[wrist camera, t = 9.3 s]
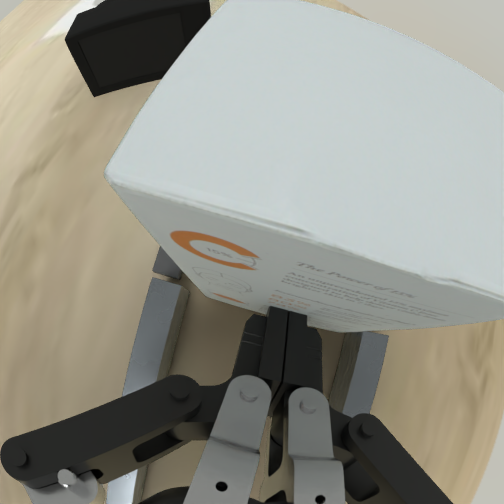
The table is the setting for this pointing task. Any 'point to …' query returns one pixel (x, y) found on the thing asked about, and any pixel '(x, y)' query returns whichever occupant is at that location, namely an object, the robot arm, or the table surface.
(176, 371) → the table surface
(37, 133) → the table surface
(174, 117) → the small box
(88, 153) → the table surface
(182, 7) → the digital camera
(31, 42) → the table surface
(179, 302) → the grey u-shaped frame
